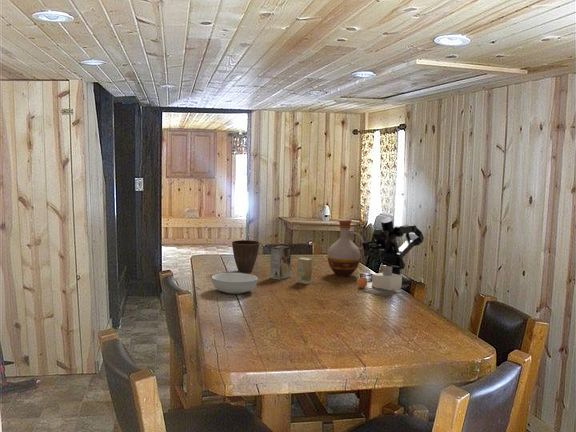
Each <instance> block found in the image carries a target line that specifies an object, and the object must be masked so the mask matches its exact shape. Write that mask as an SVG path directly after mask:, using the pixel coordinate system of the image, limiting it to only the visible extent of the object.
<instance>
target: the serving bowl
mask: <svg viewBox="0 0 576 432" xmlns="http://www.w3.org/2000/svg"><path fill="white" fill-rule="evenodd" d="M258 279H259V278H258V277H257V276H256V275H254V274H249V273H242V272H220V273H216V274H213V275H212V276H211V283H212V284H213V286H214V288H215V289H217V290H218V291H220V292H223V293H226V294H230V295H231V294H232V295H239V294H243V293H246V292H247V293H248V292H250V291H252V290H253V289H255V287H256V286H257V284H258Z"/></svg>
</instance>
